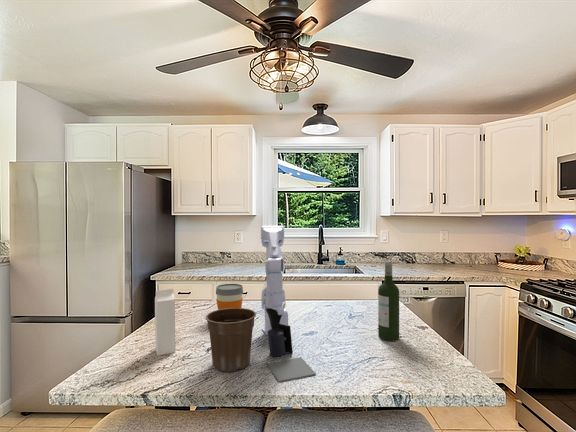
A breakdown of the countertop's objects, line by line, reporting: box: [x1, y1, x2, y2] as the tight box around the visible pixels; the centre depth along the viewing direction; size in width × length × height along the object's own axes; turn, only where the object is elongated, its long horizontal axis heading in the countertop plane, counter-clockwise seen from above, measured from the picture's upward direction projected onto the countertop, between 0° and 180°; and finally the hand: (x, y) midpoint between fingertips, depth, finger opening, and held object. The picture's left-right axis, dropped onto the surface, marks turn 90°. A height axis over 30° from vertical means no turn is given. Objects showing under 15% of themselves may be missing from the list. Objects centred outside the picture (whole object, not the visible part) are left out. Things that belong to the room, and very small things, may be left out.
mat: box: [266, 356, 317, 383], centre depth 102 cm, size 12×12×1 cm
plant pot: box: [205, 307, 257, 373], centre depth 106 cm, size 16×16×16 cm
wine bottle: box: [377, 260, 400, 342], centre depth 127 cm, size 8×8×30 cm
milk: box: [154, 288, 176, 357], centre depth 116 cm, size 6×6×22 cm
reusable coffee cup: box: [215, 283, 244, 310], centre depth 151 cm, size 12×13×15 cm
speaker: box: [267, 323, 294, 359], centre depth 113 cm, size 8×6×10 cm
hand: (274, 329), depth 116 cm, fingers closed
